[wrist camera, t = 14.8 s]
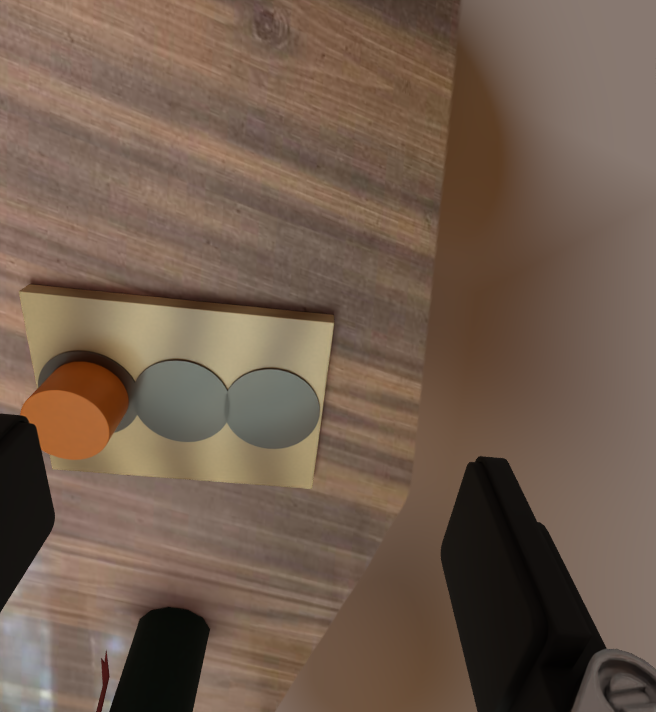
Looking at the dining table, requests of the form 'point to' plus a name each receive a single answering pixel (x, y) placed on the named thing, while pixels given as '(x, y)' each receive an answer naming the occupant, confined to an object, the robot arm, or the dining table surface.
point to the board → (192, 382)
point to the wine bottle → (161, 664)
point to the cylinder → (77, 410)
